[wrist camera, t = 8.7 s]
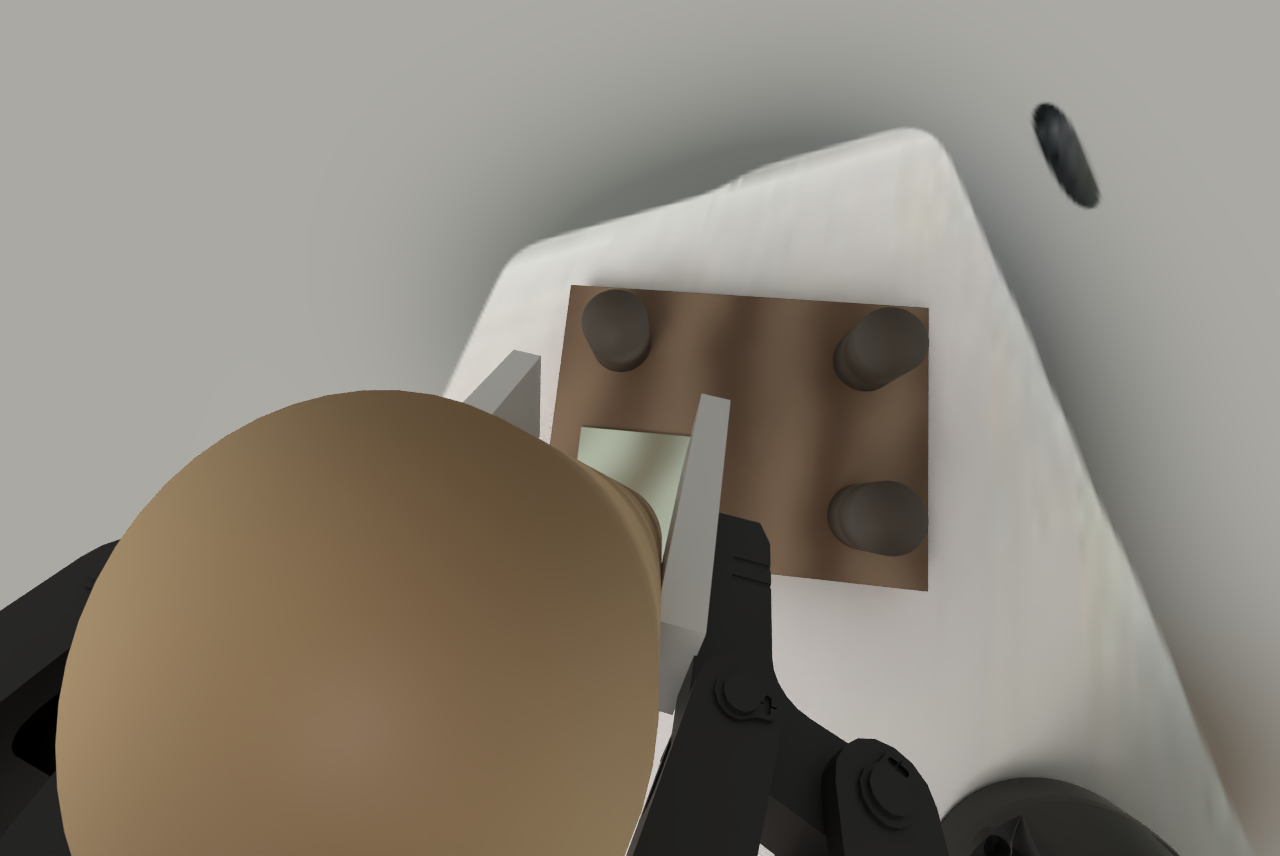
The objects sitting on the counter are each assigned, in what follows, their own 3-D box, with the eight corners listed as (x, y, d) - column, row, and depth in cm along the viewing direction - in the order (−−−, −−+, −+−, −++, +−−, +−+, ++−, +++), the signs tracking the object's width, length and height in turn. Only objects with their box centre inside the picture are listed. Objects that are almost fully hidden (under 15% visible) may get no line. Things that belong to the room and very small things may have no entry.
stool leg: (665, 486, 18) (678, 406, 4) (658, 605, 18) (635, 1106, 3) (553, 478, 19) (137, 374, 4) (541, 595, 18) (-22, 1009, 3)
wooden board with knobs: (906, 325, 34) (965, 278, 27) (903, 583, 31) (968, 604, 24) (579, 303, 36) (557, 254, 29) (548, 544, 33) (516, 553, 26)
